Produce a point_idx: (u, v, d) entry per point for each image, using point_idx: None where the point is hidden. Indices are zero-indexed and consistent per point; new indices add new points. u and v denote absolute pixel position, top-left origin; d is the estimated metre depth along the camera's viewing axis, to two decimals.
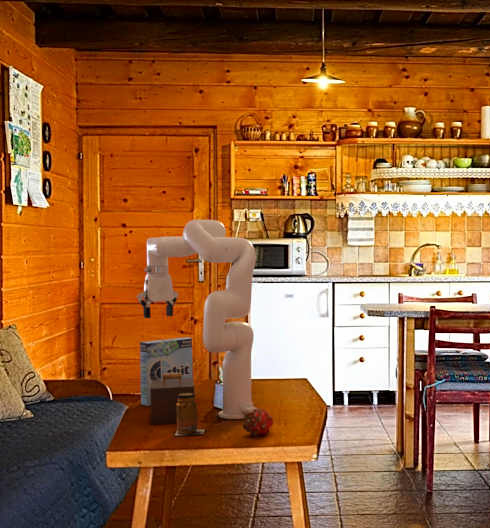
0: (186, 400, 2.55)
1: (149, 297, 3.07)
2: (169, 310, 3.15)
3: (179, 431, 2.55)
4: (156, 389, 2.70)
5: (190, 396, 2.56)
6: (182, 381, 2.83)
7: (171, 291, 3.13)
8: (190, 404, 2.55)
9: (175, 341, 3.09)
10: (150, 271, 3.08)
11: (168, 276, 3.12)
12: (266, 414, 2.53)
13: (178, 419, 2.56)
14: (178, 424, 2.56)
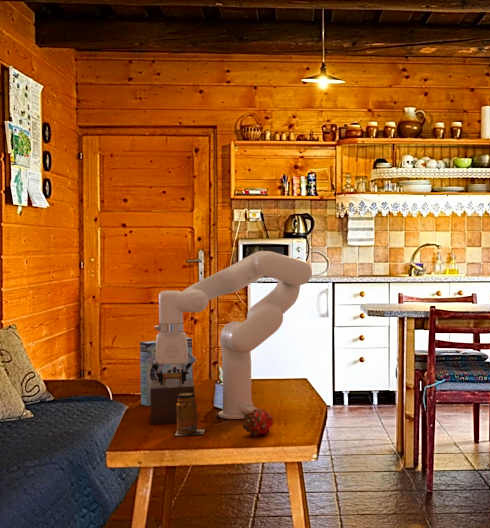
0: (186, 400, 2.55)
1: None
2: None
3: (179, 431, 2.55)
4: (156, 389, 2.70)
5: (190, 396, 2.56)
6: None
7: (184, 353, 2.72)
8: (190, 404, 2.55)
9: None
10: (159, 329, 2.71)
11: (180, 335, 2.71)
12: (266, 414, 2.53)
13: (178, 419, 2.56)
14: (178, 424, 2.56)
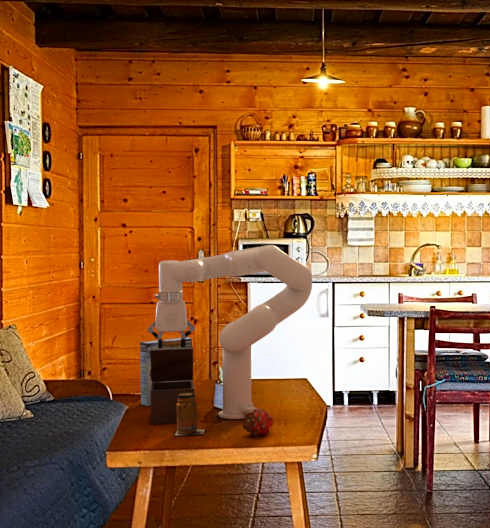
0: (186, 400, 2.55)
1: None
2: None
3: (179, 431, 2.55)
4: (156, 349, 2.75)
5: (190, 396, 2.56)
6: None
7: (183, 321, 2.79)
8: (190, 404, 2.55)
9: None
10: (159, 298, 2.79)
11: (180, 304, 2.79)
12: (266, 414, 2.53)
13: (178, 419, 2.56)
14: (178, 424, 2.56)
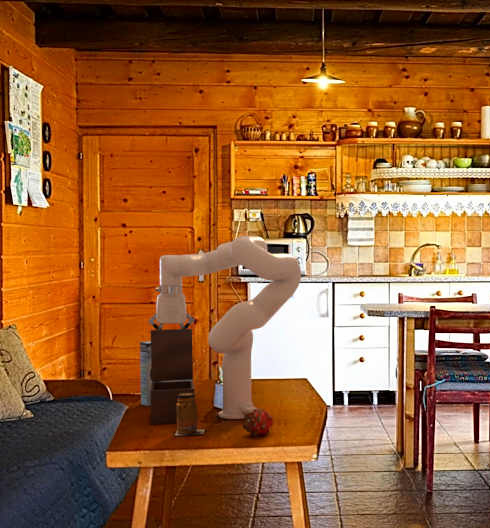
0: (186, 400, 2.55)
1: (156, 319, 2.89)
2: None
3: (179, 431, 2.55)
4: (156, 330, 2.86)
5: (190, 396, 2.56)
6: None
7: (183, 313, 2.90)
8: (190, 404, 2.55)
9: None
10: (159, 291, 2.90)
11: (180, 297, 2.90)
12: (266, 414, 2.53)
13: (178, 419, 2.56)
14: (178, 424, 2.56)
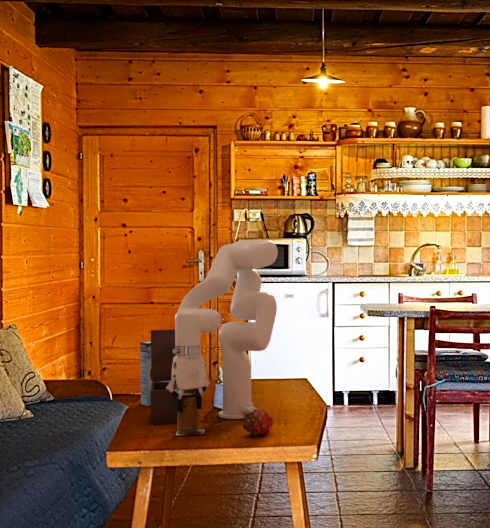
0: (187, 400, 2.55)
1: (178, 385, 2.52)
2: (197, 402, 2.59)
3: (180, 431, 2.55)
4: (156, 330, 2.86)
5: (190, 396, 2.56)
6: None
7: (204, 376, 2.58)
8: (191, 404, 2.56)
9: None
10: (179, 353, 2.54)
11: (201, 358, 2.57)
12: (266, 414, 2.53)
13: (179, 419, 2.56)
14: (179, 424, 2.56)
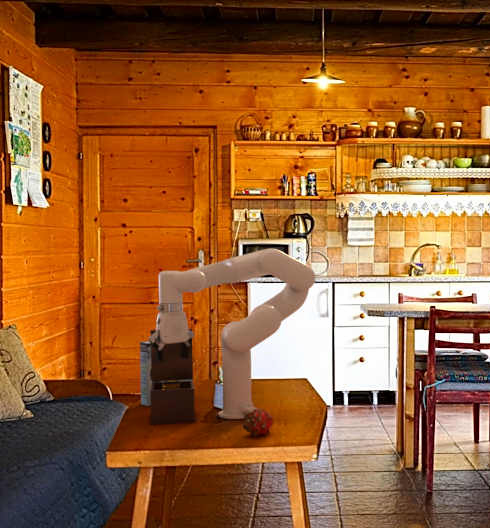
0: (171, 386, 2.75)
1: (162, 339, 2.72)
2: (184, 352, 2.80)
3: None
4: None
5: (174, 382, 2.76)
6: None
7: (186, 331, 2.78)
8: None
9: None
10: (163, 309, 2.73)
11: (183, 314, 2.77)
12: (266, 414, 2.53)
13: None
14: None
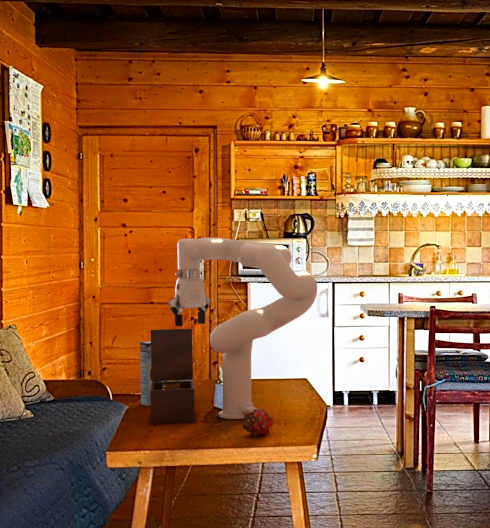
0: (171, 386, 2.75)
1: (181, 303, 2.82)
2: (201, 317, 2.91)
3: None
4: None
5: (174, 383, 2.76)
6: None
7: (204, 297, 2.89)
8: None
9: None
10: (182, 275, 2.84)
11: (200, 280, 2.88)
12: (266, 414, 2.53)
13: None
14: None
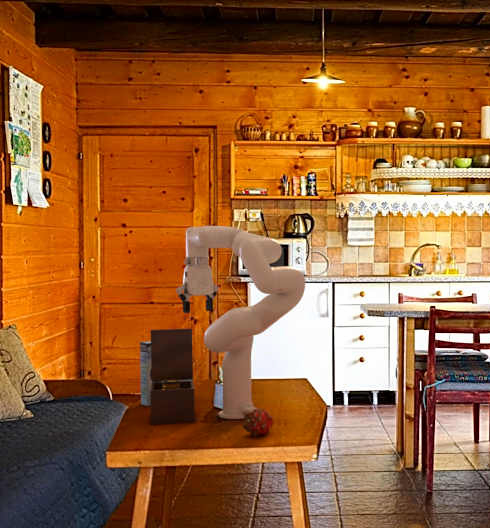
0: (171, 386, 2.75)
1: (189, 290, 2.88)
2: (209, 304, 2.96)
3: None
4: None
5: (174, 382, 2.76)
6: None
7: (211, 284, 2.94)
8: None
9: None
10: (190, 263, 2.89)
11: (208, 268, 2.93)
12: (266, 414, 2.53)
13: None
14: None
